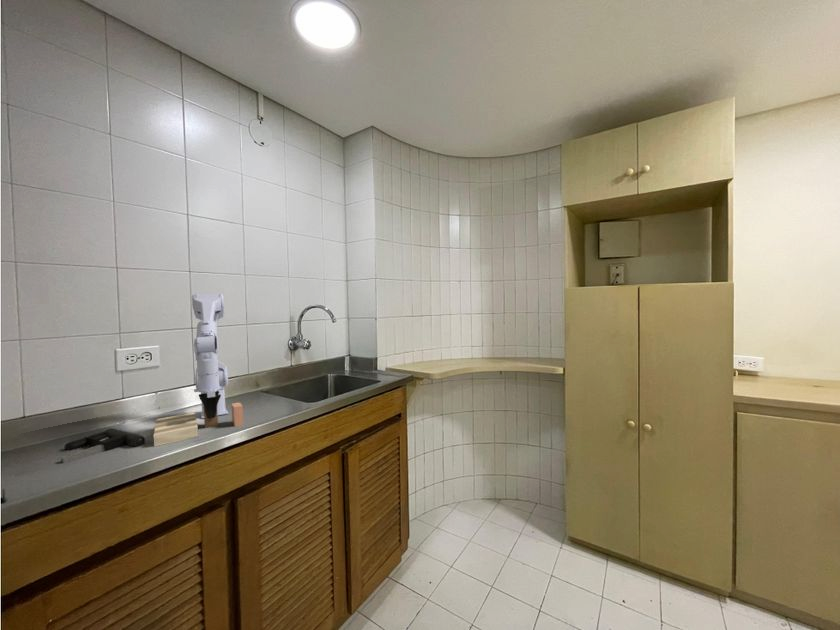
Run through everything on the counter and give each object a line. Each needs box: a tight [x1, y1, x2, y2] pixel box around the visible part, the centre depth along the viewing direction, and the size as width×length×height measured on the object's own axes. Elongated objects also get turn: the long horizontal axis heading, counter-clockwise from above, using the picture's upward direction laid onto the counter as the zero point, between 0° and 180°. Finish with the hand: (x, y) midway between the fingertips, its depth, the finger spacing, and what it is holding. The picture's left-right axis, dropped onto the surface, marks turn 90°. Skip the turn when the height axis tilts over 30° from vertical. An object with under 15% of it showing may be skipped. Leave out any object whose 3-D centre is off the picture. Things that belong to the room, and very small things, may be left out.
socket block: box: [153, 412, 199, 447], centre depth 104 cm, size 20×10×3 cm, turn 36°
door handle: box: [60, 427, 149, 464], centre depth 93 cm, size 3×20×16 cm
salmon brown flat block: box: [231, 402, 244, 427], centre depth 110 cm, size 6×2×6 cm, turn 36°
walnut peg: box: [203, 408, 219, 429], centre depth 109 cm, size 3×3×9 cm
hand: (210, 416), depth 109 cm, fingers closed on walnut peg, 3 cm apart
